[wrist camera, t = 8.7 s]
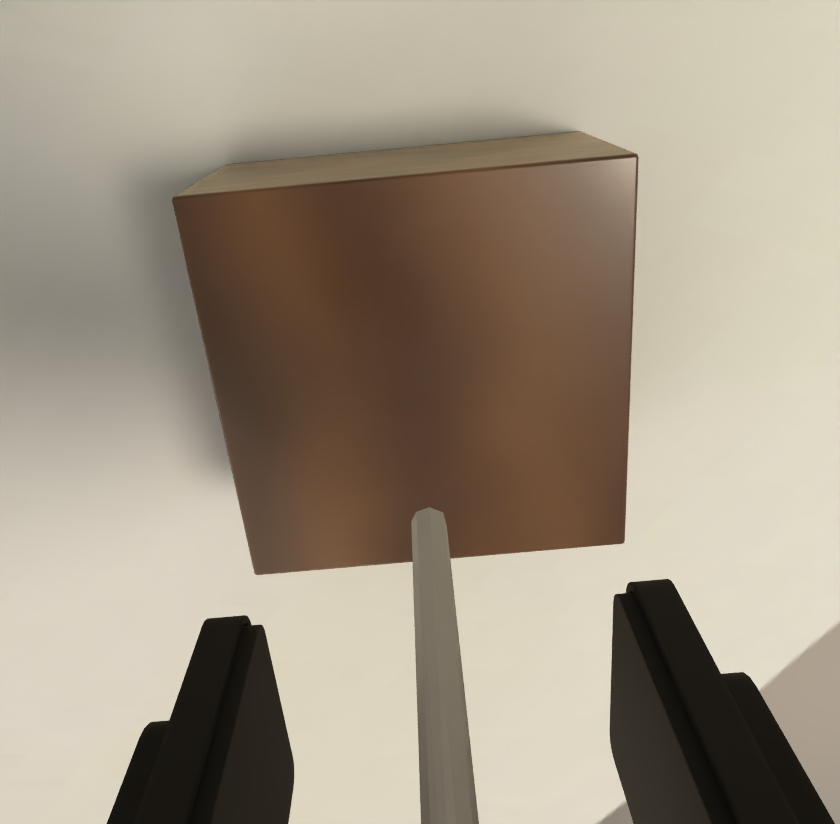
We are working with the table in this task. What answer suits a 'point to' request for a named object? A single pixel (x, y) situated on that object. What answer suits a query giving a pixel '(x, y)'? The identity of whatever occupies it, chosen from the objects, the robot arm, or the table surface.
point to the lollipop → (439, 680)
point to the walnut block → (420, 345)
